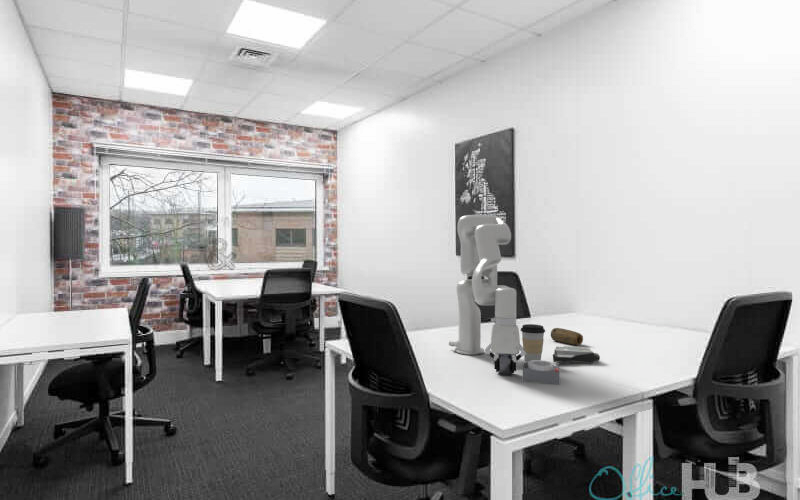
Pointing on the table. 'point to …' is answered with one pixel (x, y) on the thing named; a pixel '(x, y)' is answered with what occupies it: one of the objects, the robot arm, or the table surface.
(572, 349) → the grey plastic handled piece
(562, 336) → the brown wooden cylinder
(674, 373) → the table surface
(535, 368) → the camera body
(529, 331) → the coffee cup
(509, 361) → the lens
